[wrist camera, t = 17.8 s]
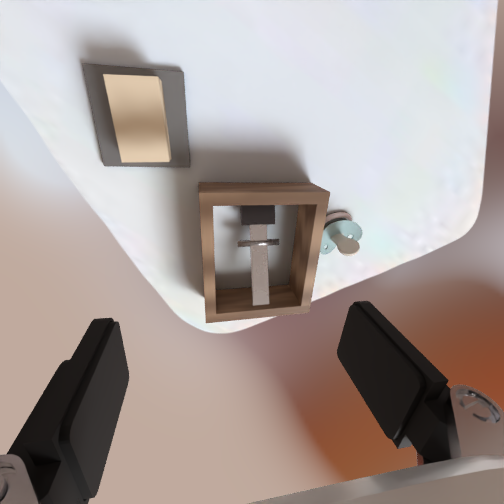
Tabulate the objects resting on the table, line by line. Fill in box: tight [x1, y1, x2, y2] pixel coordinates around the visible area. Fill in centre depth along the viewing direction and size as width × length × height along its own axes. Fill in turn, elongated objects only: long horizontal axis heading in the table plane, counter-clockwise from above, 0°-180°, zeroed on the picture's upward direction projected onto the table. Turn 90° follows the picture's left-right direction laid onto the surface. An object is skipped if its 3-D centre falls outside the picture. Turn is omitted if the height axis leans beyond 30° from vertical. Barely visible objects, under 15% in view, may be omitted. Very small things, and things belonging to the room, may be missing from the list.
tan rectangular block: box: [103, 74, 172, 163], centre depth 27 cm, size 8×5×3 cm, turn 179°
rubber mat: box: [82, 63, 190, 167], centre depth 29 cm, size 10×10×1 cm
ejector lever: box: [237, 205, 279, 306], centre depth 36 cm, size 15×6×1 cm, turn 177°
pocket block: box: [199, 182, 330, 323], centre depth 36 cm, size 19×16×6 cm
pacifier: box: [320, 212, 362, 256], centre depth 38 cm, size 7×6×6 cm
